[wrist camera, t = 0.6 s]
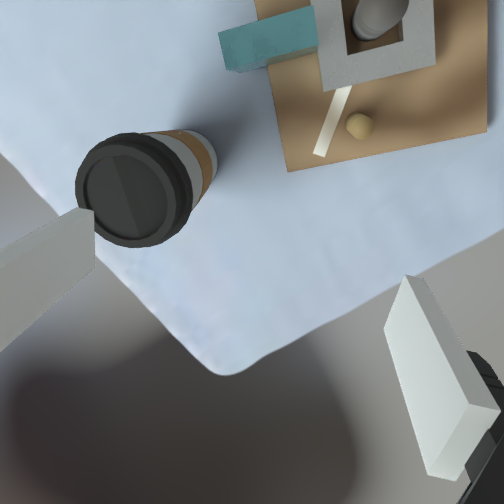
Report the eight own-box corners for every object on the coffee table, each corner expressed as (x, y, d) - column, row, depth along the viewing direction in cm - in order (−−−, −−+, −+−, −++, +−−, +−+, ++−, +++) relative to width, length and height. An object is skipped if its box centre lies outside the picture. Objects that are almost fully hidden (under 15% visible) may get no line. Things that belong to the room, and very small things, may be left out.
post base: (236, -98, 30) (211, -163, 22) (481, -190, 26) (553, -306, 18) (288, 170, 38) (282, 190, 30) (481, 130, 34) (531, 142, 26)
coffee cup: (217, 111, 37) (162, 123, 23) (236, 192, 40) (197, 246, 26) (140, 128, 38) (48, 150, 25) (164, 205, 41) (93, 261, 28)
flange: (223, -1, 32) (206, -19, 26) (424, -64, 28) (452, -101, 23) (248, 110, 35) (236, 114, 29) (430, 65, 31) (455, 60, 26)
